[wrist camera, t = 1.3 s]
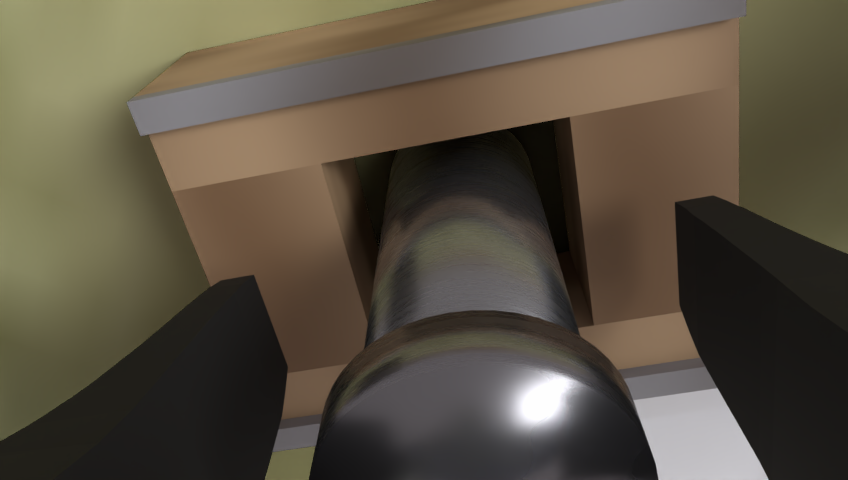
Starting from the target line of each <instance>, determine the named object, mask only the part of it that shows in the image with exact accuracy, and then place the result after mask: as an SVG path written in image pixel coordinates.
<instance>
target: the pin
mask: <svg viewBox="0 0 848 480" xmlns="http://www.w3.org/2000/svg"><path fill="white" fill-rule="evenodd" d="M309 480H658V474H657V468H656V463H655V460H654V457H653V455H652V452H651V449H650V446H649V443H648V440H647V438H646V435H645V432H644V429H643V426H642V423H641V421H640V418H639V415H638V412H637V409H636V406H635V403H634V401H633V398H632V395H631V393H630V390H629V387H628V385H627V384H626V382H625V380H624V379H623V377H622V375H621V373H620V372H619V371H618V369H617V368H616V367H615V366H614V364H613V363H612V362H611V361H610V360H609V358H608V357H606V356H605V355H604V354H603V353H602V352H601V351H600V350H599V349H598V348H596V347H595V346H594V345H593V344H591V343H590V342H588V341H587V340H585V339H584V338H582V337H581V336H580V333H579V330H578V326H577V323H576V319H575V316H574V312H573V309H572V306H571V302H570V299H569V295H568V292H567V288H566V285H565V281H564V278H563V275H562V271H561V268H560V264H559V261H558V257H557V254H556V250H555V247H554V244H553V240H552V237H551V233H550V230H549V226H548V223H547V219H546V216H545V213H544V209H543V206H542V202H541V199H540V195H539V192H538V188H537V185H536V182H535V178H534V175H533V171H532V168H531V164H530V161H529V159H528V156H527V153H526V152H525V150H524V148H523V146H522V145H521V144H520V142H519V141H518V140H517V138H516V137H515V136H514V135H513V134H512V133H511V132H509V131H508V130H507V129H502V130H497V131H492V132H487V133H481V134H476V135H471V136H465V137H460V138H455V139H449V140H444V141H439V142H433V143H428V144H423V145H418V146H412V147H407V148H402V149H399V150H398V151H397V153H396V155H395V157H394V160H393V162H392V166H391V170H390V176H389V183H388V190H387V197H386V204H385V210H384V217H383V224H382V231H381V237H380V244H379V251H378V258H377V265H376V271H375V278H374V285H373V292H372V298H371V305H370V312H369V319H368V326H367V332H366V339H365V346H364V349H363V350H362V351H361V352H360V353H359V354H357V355H356V356H355V357H354V358H353V359H352V360H351V361H350V363H349V364H348V365H347V366H346V367H345V368H344V369H343V370H342V372H341V373H340V375H339V376H338V378H337V379H336V381H335V382H334V384H333V386H332V388H331V390H330V392H329V394H328V397H327V399H326V402H325V405H324V409H323V413H322V418H321V422H320V427H319V432H318V437H317V442H316V447H315V452H314V457H313V462H312V466H311V471H310V476H309Z"/></svg>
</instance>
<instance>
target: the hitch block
mask: <svg viewBox="0 0 848 480" xmlns="http://www.w3.org/2000/svg"><path fill="white" fill-rule="evenodd" d="M743 16H746V0H435V1H430V2H425V3H421V4H416V5H411V6H406V7H402V8H397V9H392V10H387V11H383V12H378V13H373V14H368V15H364V16H359V17H354V18H349V19H345V20H340V21H335V22H330V23H326V24H321V25H316V26H311V27H307V28H302V29H297V30H292V31H288V32H283V33H278V34H273V35H269V36H264V37H259V38H254V39H250V40H245V41H240V42H235V43H231V44H226V45H221V46H216V47H212V48H207V49H202V50H197V51H193V52H188V53H186V54H185V55H184V56H182V57H181V58H180V59H179V60H177V61H176V62H175V63H174V64H173V65H171V66H170V67H169V68H168V69H167V70H165V71H164V72H163V73H162V74H160V75H159V76H158V77H157V78H156V79H154V80H153V81H152V82H151V83H150V84H148V85H147V86H146V87H145V88H143V89H142V90H141V91H140V92H139V93H137V94H136V95H135V96H134V97H133V98H131V99H130V100H129V101H128V102H126V103H127V105H128V107H129V110H130V112H131V115H132V117H133V120H134V122H135V124H136V127H137V129H138V132H139V134H140V136H143V135H149V137H150V140H151V142H152V144H153V147H154V149H155V152H156V154H157V157H158V159H159V162H160V164H161V167H162V169H163V171H164V174H165V176H166V179H167V181H168V184H169V186H170V189H171V191H172V193H173V196H174V198H175V201H176V203H177V206H178V208H179V211H180V213H181V216H182V218H183V220H184V223H185V225H186V228H187V230H188V233H189V235H190V238H191V240H192V243H193V245H194V247H195V250H196V252H197V255H198V257H199V260H200V262H201V265H202V267H203V269H204V272H205V274H206V277H207V279H208V282H209V284H210V287H211V286H213V285H214V284H216V283H217V282H219V281H221V280H225V279H231V278H237V277H243V276H249V275H254V276H255V279H256V282H257V284H258V287H259V290H260V293H261V295H262V298H263V301H264V303H265V306H266V309H267V311H268V314H269V317H270V319H271V322H272V325H273V328H274V330H275V333H276V336H277V338H278V341H279V344H280V346H281V349H282V352H283V355H284V357H285V360H286V363H287V365H288V372H287V381H286V391H285V399H284V406H283V413H282V418H281V422H280V426H279V430H278V433H277V437H276V441H275V444H274V448H273V451H272V452H276V451H283V450H290V449H297V448H304V447H311V446H316V442H317V437H318V432H319V427H320V422H321V418H322V413H323V409H324V405H325V402H326V399H327V397H328V394H329V392H330V390H331V388H332V386H333V384H334V382H335V381H336V379H337V378H338V376H339V375H340V373H341V372H342V370H343V369H344V368H345V367H346V366H347V365H348V364H349V363H350V361H351V360H352V359H353V358H354V357H355V356H356V355H357V354H359V353H360V352H361V351H362V350H363V349H364V346H365V339H366V332H367V326H368V319H369V312H370V305H371V298H372V292H373V285H374V278H375V271H376V265H377V258H378V251H379V249H378V246H377V242H376V238H375V235H374V231H373V227H372V223H371V220H370V216H369V212H368V209H367V205H366V201H365V198H364V194H363V190H362V186H361V183H360V179H359V175H358V172H357V168H356V164H355V161H354V157H359V156H364V155H370V154H375V153H380V152H386V151H391V150H396V149H402V148H407V147H412V146H418V145H423V144H428V143H433V142H439V141H444V140H449V139H455V138H460V137H465V136H471V135H476V134H481V133H487V132H492V131H497V130H502V129H508V128H513V127H518V126H524V125H529V124H534V123H540V122H545V121H550V120H553V123H554V131H555V139H556V147H557V155H558V163H559V171H560V179H561V186H562V194H563V202H564V210H565V218H566V226H567V234H568V242H569V249H570V251H568V252H562V253H556V254H557V257H558V261H559V264H560V268H561V271H562V275H563V278H564V281H565V285H566V288H567V292H568V295H569V299H570V302H571V306H572V309H573V312H574V316H575V319H576V323H577V326H578V330H579V333H580V336H581V337H582V338H584V339H585V340H587V341H588V342H590V343H591V344H593V345H594V346H595V347H596V348H598V349H599V350H600V351H601V352H602V353H603V354H604V355H605V356H606V357H608V358H609V360H610V361H611V362H612V363H613V364H614V366H615V367H616V368H617V369H618V371H619V372H620V373H621V375H622V377H623V379H624V380H625V382H626V384H627V385H628V387H629V390H630V393H631V395H632V398H633V400H639V399H646V398H653V397H660V396H667V395H674V394H681V393H687V392H694V391H701V390H708V389H715V388H717V387H716V385H715V383H714V381H713V379H712V378H711V376H710V374H709V372H708V371H707V369H706V367H705V365H704V363H703V362H702V360H701V358H700V356H699V354H698V352H697V349H696V347H695V344H694V342H693V340H692V337H691V335H690V332H689V329H688V327H687V324H686V322H685V319H684V316H683V314H682V311H681V308H680V306H679V286H678V264H677V242H676V221H675V202H678V201H683V200H689V199H695V198H701V197H706V196H712V195H713V196H716V197H719V198H722V199H724V200H727V201H729V202H731V203H733V204H736V205H738V206H739V17H743Z"/></svg>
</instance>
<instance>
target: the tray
mask: <svg viewBox="0 0 848 480" xmlns="http://www.w3.org/2000/svg"><path fill="white" fill-rule="evenodd" d="M633 401H634V403H635V406H636V409H637V412H638V415H639V418H640V421H641V423H642V426H643V429H644V432H645V435H646V438H647V440H648V443H649V446H650V449H651V452H652V455H653V457H654V460H655V463H656V468H657V474H658V480H769V479H768V477H767V475H766V473H765V472H764V470H763V468H762V466H761V464H760V462H759V460H758V458H757V456H756V455H755V453H754V451H753V449H752V448H751V446H750V444H749V442H748V441H747V439H746V437H745V435H744V434H743V432H742V430H741V428H740V427H739V425H738V423H737V421H736V420H735V418H734V416H733V415H732V413H731V411H730V409H729V408H728V406H727V404H726V402H725V401H724V399H723V397H722V395H721V394H720V392H719V390H718V388H715V389H708V390H701V391H694V392H687V393H681V394H674V395H667V396H660V397H653V398H646V399H639V400H633Z"/></svg>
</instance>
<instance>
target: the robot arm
mask: <svg viewBox="0 0 848 480" xmlns="http://www.w3.org/2000/svg"><path fill="white" fill-rule="evenodd" d="M675 221H676V242H677V264H678V286H679V306H680V308H681V311H682V314H683V316H684V319H685V322H686V324H687V327H688V329H689V332H690V335H691V337H692V340H693V342H694V344H695V347H696V349H697V352H698V354H699V356H700V358H701V360H702V362H703V363H704V365H705V367H706V369H707V371H708V372H709V374H710V376H711V378H712V379H713V381H714V383H715V385H716V387H717V388H718V390H719V392H720V394H721V395H722V397H723V399H724V401H725V402H726V404H727V406H728V408H729V409H730V411H731V413H732V415H733V416H734V418H735V420H736V421H737V423H738V425H739V427H740V428H741V430H742V432H743V434H744V435H745V437H746V439H747V441H748V442H749V444H750V446H751V448H752V449H753V451H754V453H755V455H756V456H757V458H758V460H759V462H760V464H761V466H762V468H763V470H764V472H765V473H766V475H767V477H768V479H769V480H848V254H847V253H844V252H841V251H839V250H836V249H834V248H831V247H829V246H826V245H824V244H821V243H819V242H817V241H814V240H812V239H809V238H807V237H805V236H803V235H800V234H798V233H796V232H794V231H791V230H789V229H787V228H785V227H783V226H780V225H778V224H776V223H774V222H772V221H770V220H767V219H765V218H763V217H761V216H759V215H757V214H755V213H753V212H751V211H748V210H746V209H744V208H742V207H740V206H738V205H736V204H733V203H731V202H729V201H727V200H724V199H722V198H719V197H716V196H713V195H712V196H706V197H701V198H695V199H689V200H683V201H678V202H675ZM287 372H288V365H287V363H286V360H285V357H284V355H283V352H282V349H281V346H280V344H279V341H278V338H277V336H276V333H275V330H274V328H273V325H272V322H271V319H270V317H269V314H268V311H267V309H266V306H265V303H264V301H263V298H262V295H261V293H260V290H259V287H258V284H257V282H256V279H255V276H254V275H249V276H243V277H237V278H231V279H225V280H221V281H219V282H217V283H216V284H214V285H213V286H211V287H210V288H209V289H207V290H206V291H205V292H203V293H202V294H201V295H200V296H198V297H197V298H196V299H195V300H193V301H192V302H191V303H190V304H189V305H187V306H186V307H185V308H184V309H183V310H182V311H180V312H179V313H178V314H177V315H176V316H174V317H173V318H172V319H171V320H170V321H169V322H167V323H166V324H165V325H164V326H163V327H161V328H160V329H159V330H158V331H157V332H156V333H154V334H153V335H152V336H151V337H150V338H148V339H147V340H146V341H145V342H144V343H142V344H141V345H140V346H139V347H137V348H136V349H135V350H134V351H132V352H131V353H130V354H129V355H127V356H126V357H125V358H123V359H122V360H121V361H120V362H118V363H117V364H116V365H115V366H113V367H112V368H111V369H109V370H108V371H107V372H106V373H104V374H103V375H102V376H101V377H99V378H98V379H97V380H95V381H94V382H93V383H91V384H90V385H88V386H87V387H86V388H84V389H83V390H81V391H80V392H79V393H77V394H76V395H74V396H73V397H72V398H70V399H69V400H67V401H66V402H64V403H63V404H61V405H59V406H58V407H56V408H55V409H53V410H52V411H50V412H49V413H47V414H46V415H44V416H43V417H41V418H40V419H38V420H36V421H35V422H33V423H32V424H30V425H28V426H26V427H25V428H23V429H21V430H20V431H18V432H16V433H14V434H13V435H11V436H9V437H7V438H6V439H4V440H2V441H0V480H265V476H266V473H267V469H268V466H269V462H270V459H271V455H272V451H273V448H274V444H275V441H276V437H277V433H278V430H279V426H280V422H281V418H282V413H283V406H284V399H285V391H286V381H287Z"/></svg>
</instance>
